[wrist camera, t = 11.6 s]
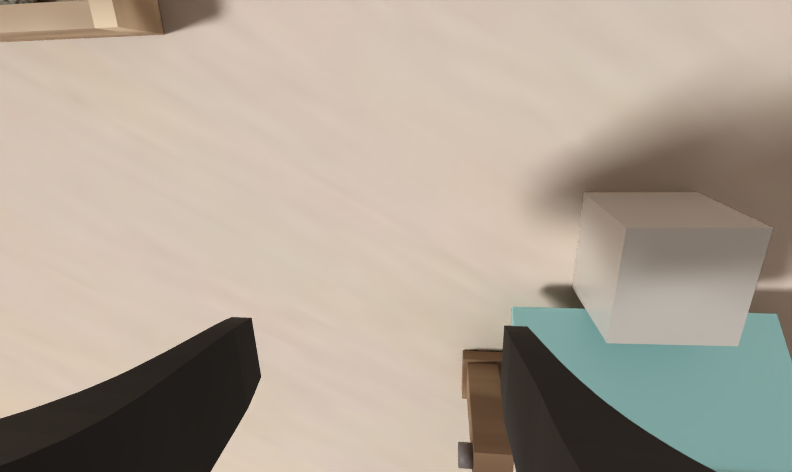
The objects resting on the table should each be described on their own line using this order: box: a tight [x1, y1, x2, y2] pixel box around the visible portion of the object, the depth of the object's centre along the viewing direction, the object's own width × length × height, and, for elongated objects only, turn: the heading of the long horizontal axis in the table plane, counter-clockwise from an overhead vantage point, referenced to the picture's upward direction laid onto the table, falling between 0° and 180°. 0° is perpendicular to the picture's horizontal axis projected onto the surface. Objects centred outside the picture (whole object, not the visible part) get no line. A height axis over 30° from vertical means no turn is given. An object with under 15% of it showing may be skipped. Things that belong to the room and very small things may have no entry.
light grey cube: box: [572, 192, 773, 346], centre depth 19 cm, size 5×5×5 cm
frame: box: [458, 350, 514, 472], centre depth 20 cm, size 3×17×7 cm, turn 92°
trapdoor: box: [511, 307, 792, 472], centre depth 18 cm, size 11×12×2 cm
